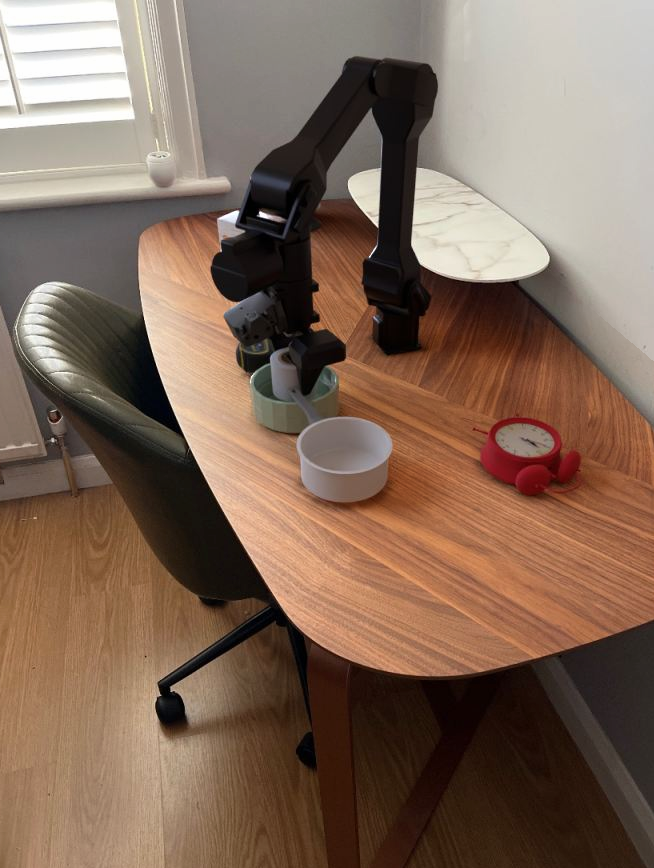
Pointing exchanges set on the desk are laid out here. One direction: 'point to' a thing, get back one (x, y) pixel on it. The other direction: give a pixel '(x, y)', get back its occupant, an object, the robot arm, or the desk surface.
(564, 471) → the alarm clock
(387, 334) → the robot arm
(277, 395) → the tape roll
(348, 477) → the saucepan
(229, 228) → the small box
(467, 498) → the desk surface
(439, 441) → the desk surface
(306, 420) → the bowl
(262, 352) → the tape measure
